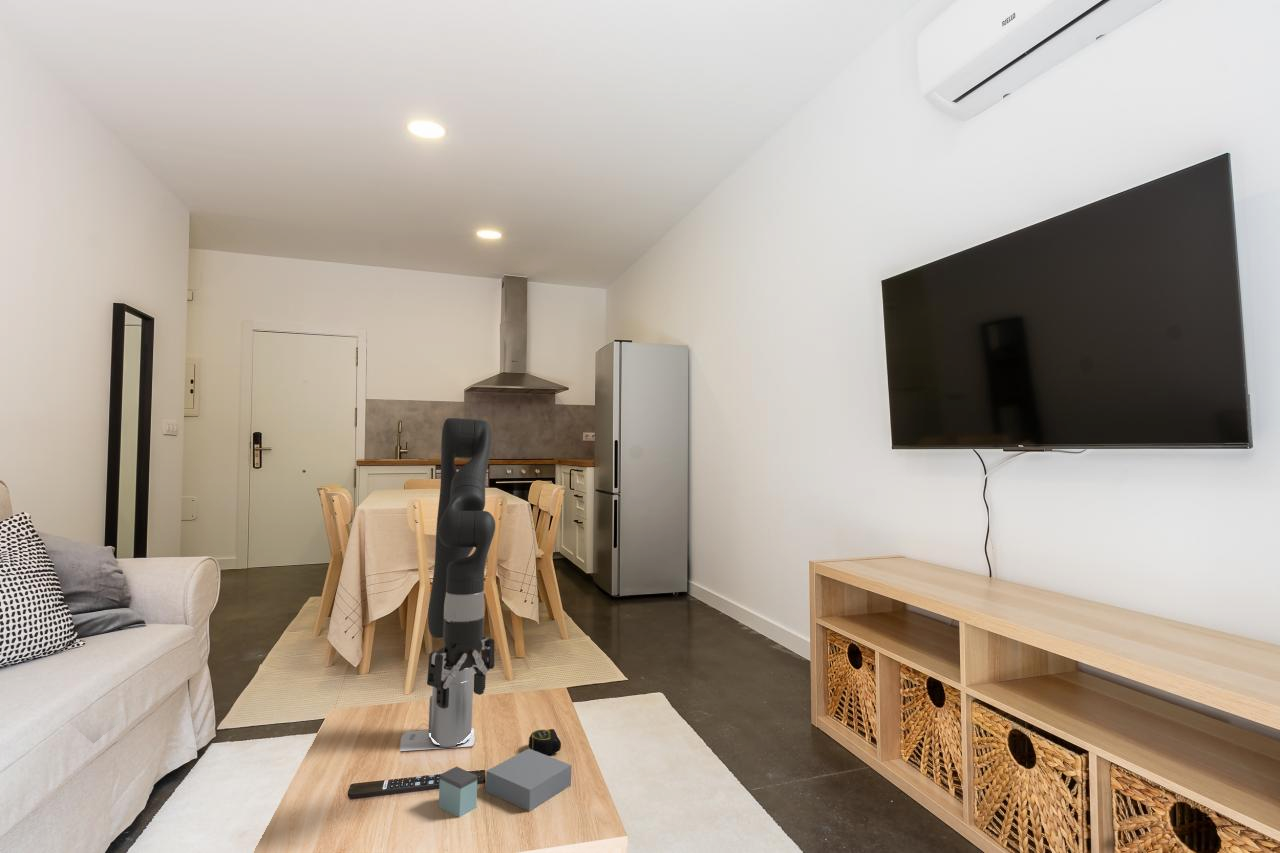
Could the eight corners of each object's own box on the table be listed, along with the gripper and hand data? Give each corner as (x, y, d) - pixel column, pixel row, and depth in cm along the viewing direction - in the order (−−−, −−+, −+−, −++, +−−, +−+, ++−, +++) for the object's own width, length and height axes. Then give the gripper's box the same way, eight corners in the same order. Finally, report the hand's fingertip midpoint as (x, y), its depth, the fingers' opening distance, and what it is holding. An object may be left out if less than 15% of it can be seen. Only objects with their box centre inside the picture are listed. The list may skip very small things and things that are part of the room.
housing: (438, 806, 120) (439, 774, 121) (455, 797, 124) (456, 766, 124) (459, 817, 117) (460, 784, 117) (476, 808, 120) (477, 775, 121)
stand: (485, 791, 126) (486, 770, 126) (528, 767, 136) (528, 748, 136) (529, 811, 119) (530, 789, 120) (570, 785, 129) (571, 765, 130)
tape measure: (561, 756, 142) (561, 739, 142) (530, 760, 140) (531, 742, 140) (555, 742, 148) (556, 726, 149) (526, 746, 146) (527, 729, 146)
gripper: (479, 605, 130) (476, 685, 129) (420, 619, 118) (417, 707, 118) (505, 610, 126) (502, 693, 125) (446, 625, 114) (443, 717, 113)
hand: (461, 700), depth 121 cm, fingers open, 8 cm apart
